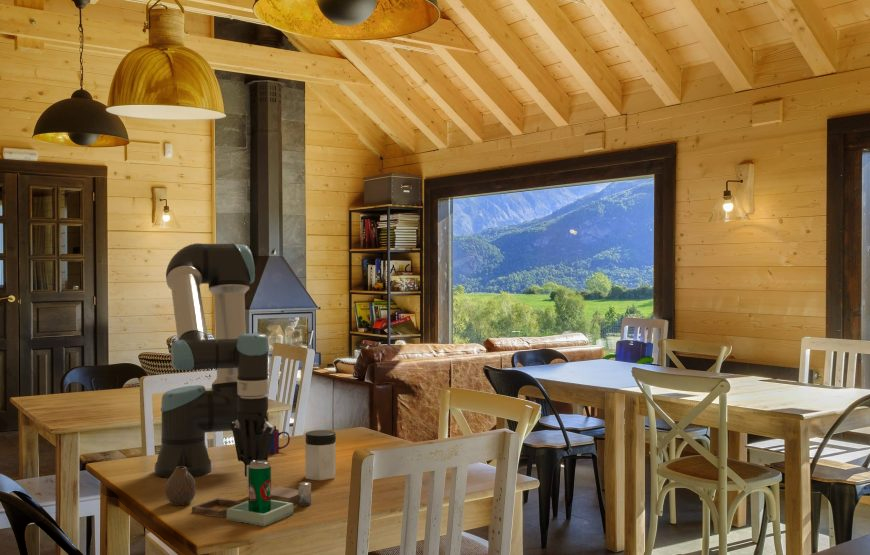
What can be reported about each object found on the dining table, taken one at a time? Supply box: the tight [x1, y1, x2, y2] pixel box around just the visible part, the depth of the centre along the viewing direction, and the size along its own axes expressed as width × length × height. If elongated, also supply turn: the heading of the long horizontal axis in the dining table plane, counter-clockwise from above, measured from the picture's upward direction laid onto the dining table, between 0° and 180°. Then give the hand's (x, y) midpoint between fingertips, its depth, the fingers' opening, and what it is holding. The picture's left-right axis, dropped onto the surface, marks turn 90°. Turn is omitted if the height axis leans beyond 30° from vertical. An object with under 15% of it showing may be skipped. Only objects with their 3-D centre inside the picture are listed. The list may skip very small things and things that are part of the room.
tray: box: [226, 500, 294, 527], centre depth 194 cm, size 11×11×2 cm
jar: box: [304, 429, 337, 481], centre depth 231 cm, size 9×8×12 cm
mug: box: [263, 428, 291, 456], centre depth 261 cm, size 7×10×7 cm
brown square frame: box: [191, 497, 244, 518], centre depth 199 cm, size 9×9×1 cm
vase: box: [165, 466, 197, 507], centre depth 205 cm, size 7×7×9 cm
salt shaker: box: [297, 481, 312, 507], centre depth 204 cm, size 3×3×5 cm
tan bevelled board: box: [271, 486, 298, 506], centre depth 208 cm, size 9×7×2 cm
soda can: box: [247, 460, 272, 514], centre depth 194 cm, size 5×5×12 cm
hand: (252, 490), depth 212 cm, fingers closed
